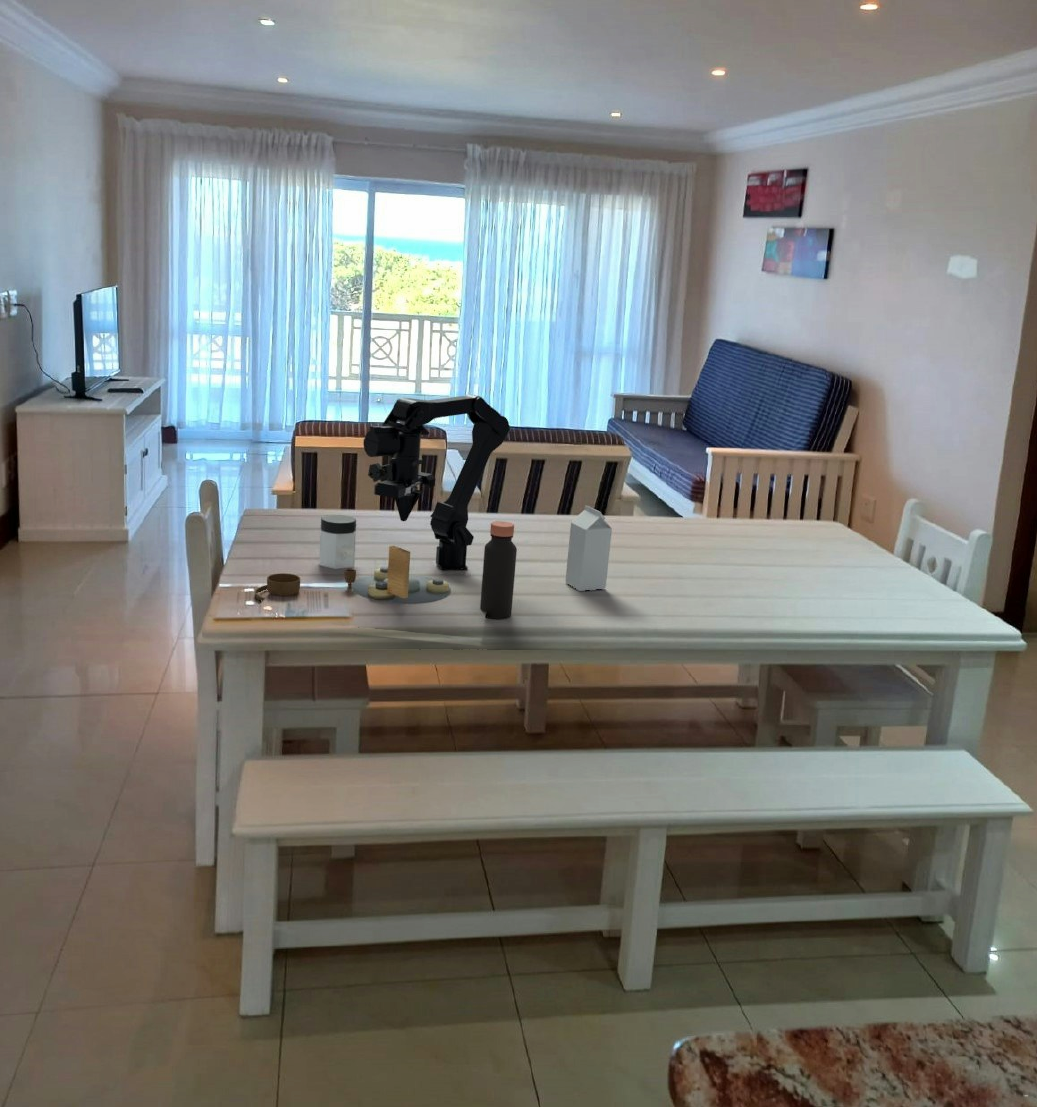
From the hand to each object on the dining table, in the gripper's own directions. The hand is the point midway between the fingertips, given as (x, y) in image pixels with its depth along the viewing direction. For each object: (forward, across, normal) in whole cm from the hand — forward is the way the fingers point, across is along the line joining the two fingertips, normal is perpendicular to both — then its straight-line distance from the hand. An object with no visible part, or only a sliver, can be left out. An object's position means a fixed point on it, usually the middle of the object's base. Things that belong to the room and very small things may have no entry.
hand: (403, 520), depth 251 cm
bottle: (+13, +13, +30) cm, 36 cm away
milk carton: (+13, -19, +39) cm, 46 cm away
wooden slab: (+12, +21, +9) cm, 26 cm away
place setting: (+14, +29, -8) cm, 33 cm away
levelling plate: (+13, +12, +7) cm, 19 cm away
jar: (+13, +5, -14) cm, 20 cm away
